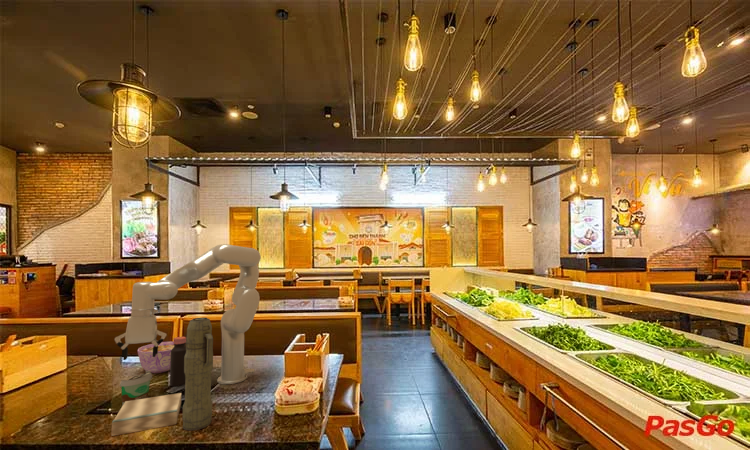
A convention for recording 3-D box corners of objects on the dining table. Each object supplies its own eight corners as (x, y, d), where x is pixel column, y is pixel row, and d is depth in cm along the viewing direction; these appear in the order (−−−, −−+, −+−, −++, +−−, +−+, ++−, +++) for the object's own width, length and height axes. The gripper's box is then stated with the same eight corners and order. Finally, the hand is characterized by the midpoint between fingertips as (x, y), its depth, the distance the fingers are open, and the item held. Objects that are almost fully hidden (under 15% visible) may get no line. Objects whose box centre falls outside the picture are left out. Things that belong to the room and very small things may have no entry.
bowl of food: (168, 377, 165) (169, 352, 166) (126, 377, 165) (127, 352, 166) (191, 363, 185) (192, 341, 186) (153, 364, 185) (154, 341, 186)
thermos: (200, 433, 113) (202, 322, 115) (173, 427, 117) (176, 320, 120) (221, 420, 121) (223, 317, 124) (195, 415, 125) (197, 315, 128)
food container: (132, 409, 131) (133, 381, 132) (118, 408, 132) (119, 380, 133) (159, 396, 143) (159, 370, 144) (146, 395, 144) (147, 369, 145)
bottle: (190, 381, 159) (191, 336, 161) (180, 387, 152) (182, 339, 154) (176, 381, 160) (177, 336, 161) (166, 386, 153) (167, 339, 155)
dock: (181, 403, 136) (181, 392, 136) (176, 424, 119) (176, 410, 119) (125, 412, 128) (125, 400, 129) (111, 436, 112) (111, 421, 112)
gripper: (168, 310, 147) (166, 352, 146) (118, 313, 140) (115, 357, 139) (166, 313, 140) (164, 357, 139) (113, 316, 133) (110, 362, 132)
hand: (139, 357), depth 139 cm, fingers open, 9 cm apart
